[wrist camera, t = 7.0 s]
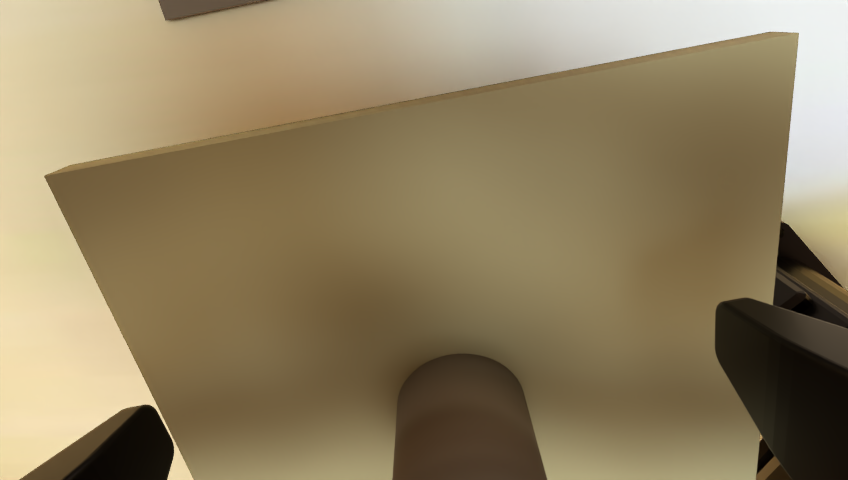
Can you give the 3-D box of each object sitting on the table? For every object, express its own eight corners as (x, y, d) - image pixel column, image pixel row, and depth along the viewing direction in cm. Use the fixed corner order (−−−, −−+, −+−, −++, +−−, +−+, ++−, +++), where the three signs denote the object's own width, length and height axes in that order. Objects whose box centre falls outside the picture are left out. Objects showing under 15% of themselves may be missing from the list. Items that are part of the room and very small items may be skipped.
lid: (732, 538, 15) (841, 723, 11) (272, 595, 16) (222, 784, 12) (770, 32, 10) (1012, 40, 6) (70, 164, 11) (-140, 252, 7)
